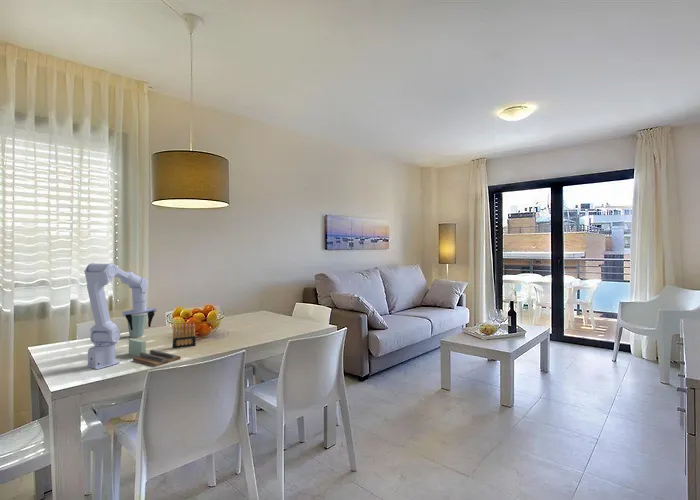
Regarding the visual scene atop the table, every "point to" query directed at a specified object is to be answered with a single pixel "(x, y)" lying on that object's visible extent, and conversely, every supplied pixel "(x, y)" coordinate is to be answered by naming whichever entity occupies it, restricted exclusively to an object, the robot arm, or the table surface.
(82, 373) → the table surface
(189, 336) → the ammunition clip
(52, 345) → the table surface
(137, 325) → the disposable coffee cup
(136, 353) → the grey-green rectangular block
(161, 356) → the track base
